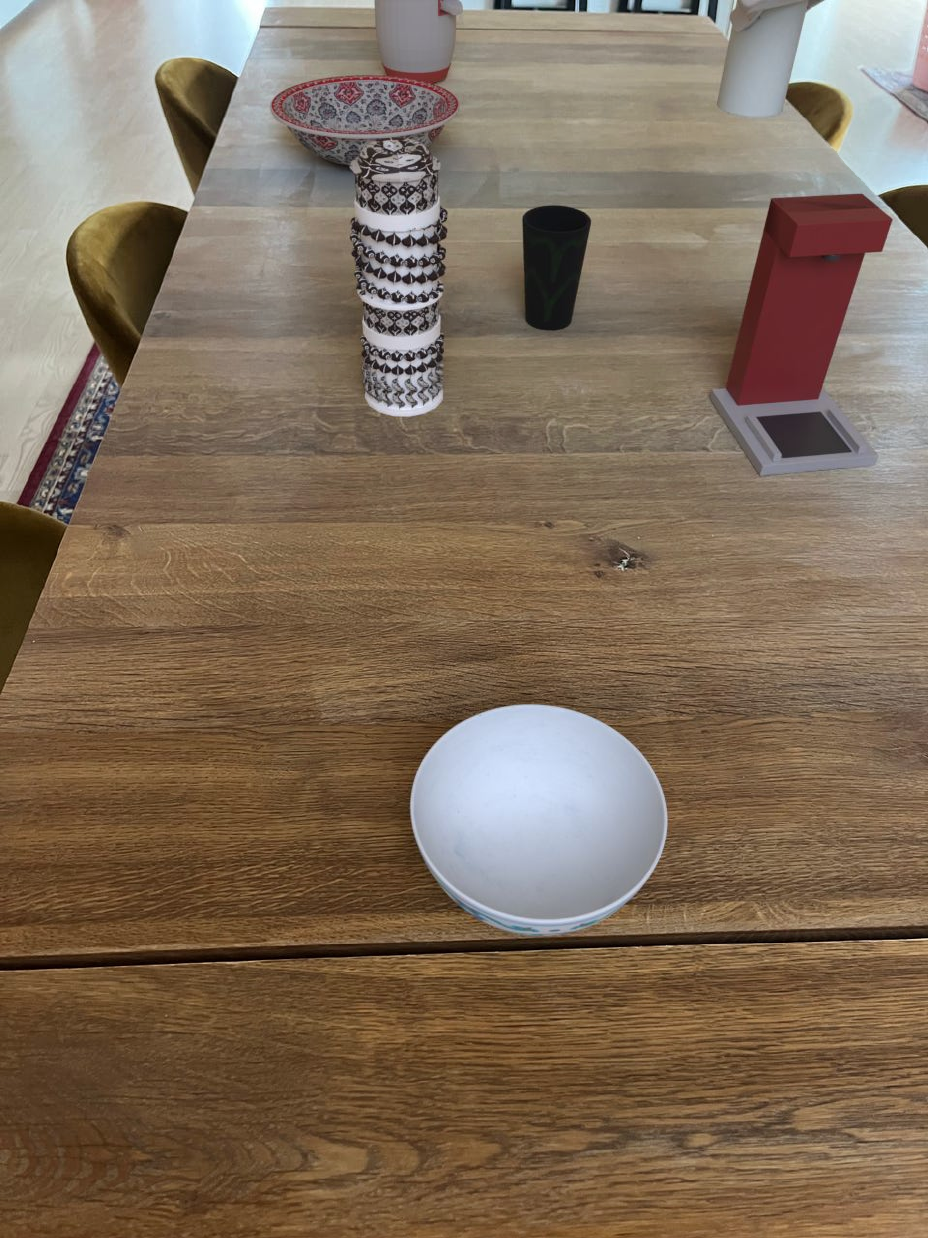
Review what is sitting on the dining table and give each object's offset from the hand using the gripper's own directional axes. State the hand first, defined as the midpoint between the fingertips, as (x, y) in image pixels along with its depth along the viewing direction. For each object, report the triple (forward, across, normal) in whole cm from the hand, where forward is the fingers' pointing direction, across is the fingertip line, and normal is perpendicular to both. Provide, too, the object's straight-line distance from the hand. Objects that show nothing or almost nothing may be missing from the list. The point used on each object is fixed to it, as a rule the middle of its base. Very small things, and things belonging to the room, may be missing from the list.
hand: (763, 17), depth 86 cm
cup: (+34, +8, +12) cm, 38 cm away
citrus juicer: (+95, -39, -48) cm, 114 cm away
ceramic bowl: (+75, -6, -28) cm, 80 cm away
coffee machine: (+11, +5, +36) cm, 38 cm away
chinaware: (-3, +60, +50) cm, 79 cm away
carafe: (+5, 0, +6) cm, 7 cm away
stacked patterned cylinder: (+32, +32, +15) cm, 48 cm away
